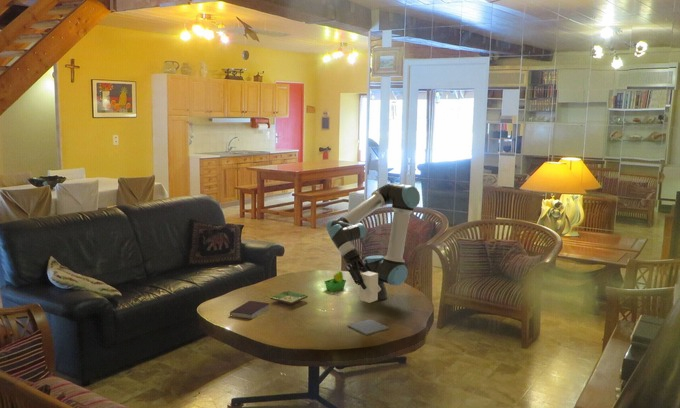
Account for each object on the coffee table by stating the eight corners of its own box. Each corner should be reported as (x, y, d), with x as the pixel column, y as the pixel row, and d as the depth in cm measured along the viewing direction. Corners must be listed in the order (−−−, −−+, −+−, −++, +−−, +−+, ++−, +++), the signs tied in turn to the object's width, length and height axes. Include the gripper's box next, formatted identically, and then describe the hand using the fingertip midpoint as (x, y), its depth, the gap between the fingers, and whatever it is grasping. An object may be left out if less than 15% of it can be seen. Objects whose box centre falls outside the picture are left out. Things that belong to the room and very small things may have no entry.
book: (229, 317, 297) (229, 310, 297) (249, 305, 315) (249, 299, 314) (251, 320, 293) (251, 314, 292) (270, 308, 310) (270, 302, 310)
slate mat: (370, 320, 293) (370, 319, 293) (389, 328, 282) (389, 327, 282) (347, 326, 285) (347, 325, 285) (366, 335, 274) (366, 333, 274)
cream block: (367, 297, 285) (368, 271, 283) (377, 299, 281) (378, 273, 279) (359, 299, 281) (360, 273, 279) (369, 302, 277) (369, 276, 275)
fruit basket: (337, 285, 350) (337, 267, 349) (348, 289, 344) (348, 270, 343) (323, 289, 342) (323, 270, 341) (334, 293, 336) (334, 274, 334)
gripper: (358, 253, 296) (382, 292, 287) (331, 260, 282) (357, 301, 273) (366, 245, 291) (391, 284, 283) (340, 251, 277) (366, 292, 269)
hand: (374, 292), depth 278 cm, fingers closed on cream block, 6 cm apart
